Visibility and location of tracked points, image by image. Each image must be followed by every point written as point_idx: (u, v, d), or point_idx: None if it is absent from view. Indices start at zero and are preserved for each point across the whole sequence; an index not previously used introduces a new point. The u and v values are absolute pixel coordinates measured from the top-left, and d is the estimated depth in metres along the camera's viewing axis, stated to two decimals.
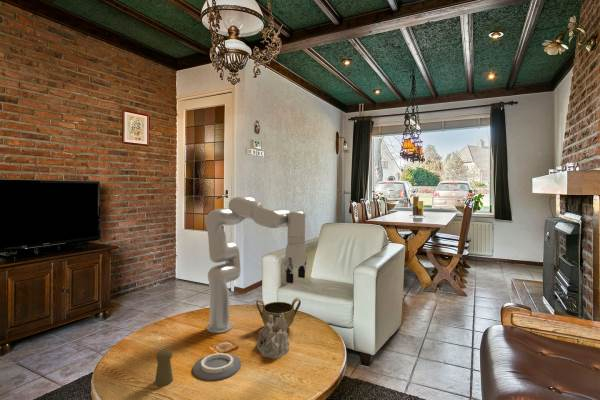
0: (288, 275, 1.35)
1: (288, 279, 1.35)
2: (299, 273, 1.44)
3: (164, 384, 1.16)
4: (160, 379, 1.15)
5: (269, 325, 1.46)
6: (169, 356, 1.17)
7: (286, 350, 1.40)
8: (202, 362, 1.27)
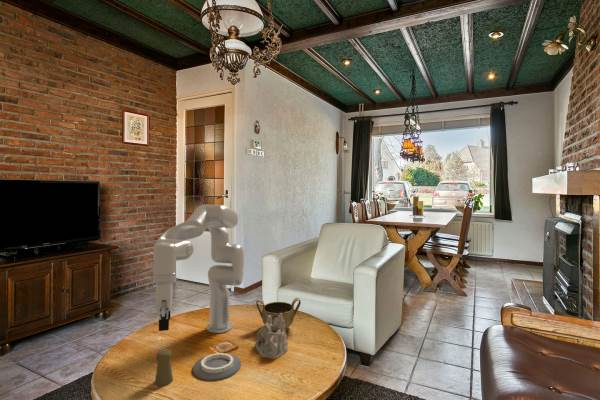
0: (163, 322, 1.12)
1: (163, 326, 1.12)
2: None
3: (164, 384, 1.16)
4: (160, 379, 1.15)
5: (268, 325, 1.46)
6: (169, 356, 1.17)
7: (285, 350, 1.40)
8: (202, 362, 1.27)
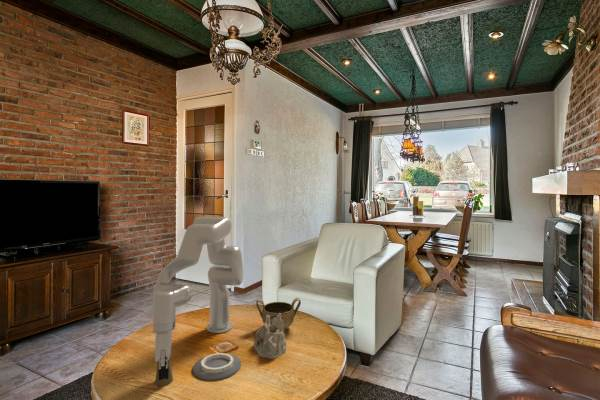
0: (163, 371, 1.15)
1: (163, 375, 1.15)
2: None
3: (164, 384, 1.16)
4: None
5: (266, 325, 1.46)
6: None
7: (283, 350, 1.40)
8: (202, 362, 1.27)
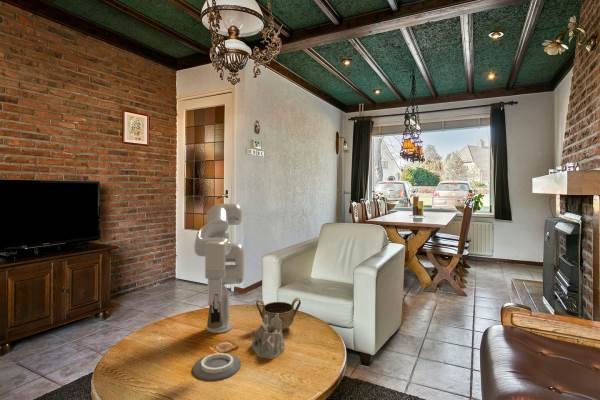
0: (215, 314, 1.24)
1: (215, 319, 1.24)
2: None
3: (216, 327, 1.25)
4: None
5: (264, 325, 1.46)
6: None
7: (281, 350, 1.40)
8: (202, 362, 1.27)
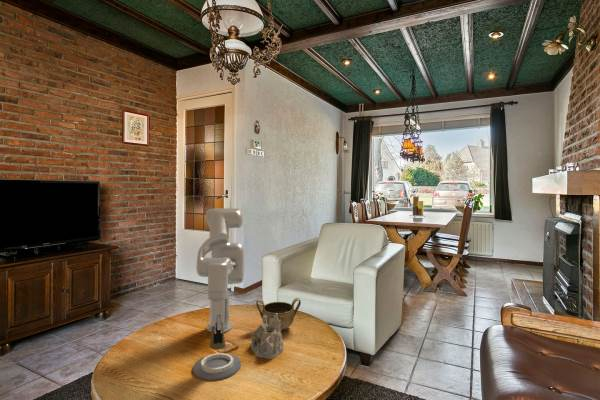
0: (218, 335, 1.24)
1: (218, 340, 1.24)
2: None
3: (219, 348, 1.25)
4: None
5: (263, 325, 1.45)
6: None
7: (280, 350, 1.40)
8: (202, 362, 1.27)
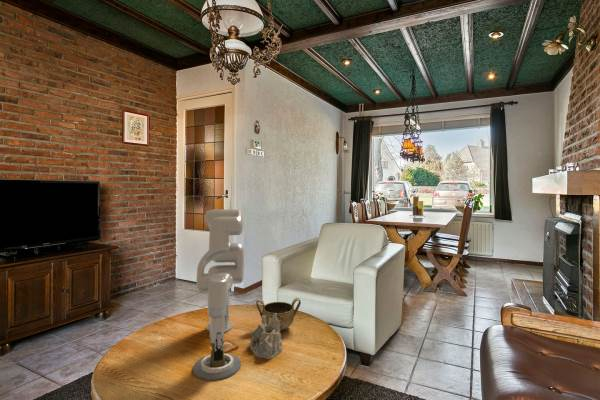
0: (218, 352, 1.23)
1: (218, 357, 1.23)
2: None
3: (218, 366, 1.26)
4: (214, 362, 1.25)
5: (262, 325, 1.45)
6: None
7: (279, 350, 1.40)
8: (202, 362, 1.27)
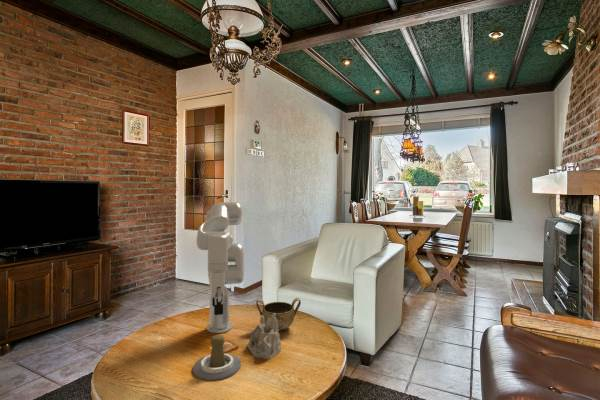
0: (218, 306, 1.22)
1: (218, 311, 1.22)
2: (214, 301, 1.32)
3: (218, 366, 1.26)
4: (215, 361, 1.26)
5: (261, 325, 1.45)
6: (223, 341, 1.27)
7: (278, 350, 1.40)
8: (202, 362, 1.27)
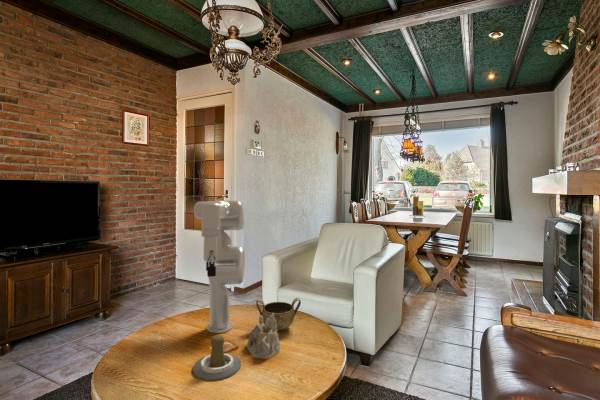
0: (211, 268, 1.31)
1: (211, 272, 1.31)
2: (208, 266, 1.41)
3: (218, 366, 1.26)
4: (214, 362, 1.25)
5: (259, 325, 1.45)
6: (222, 341, 1.27)
7: (277, 350, 1.40)
8: (202, 362, 1.27)
